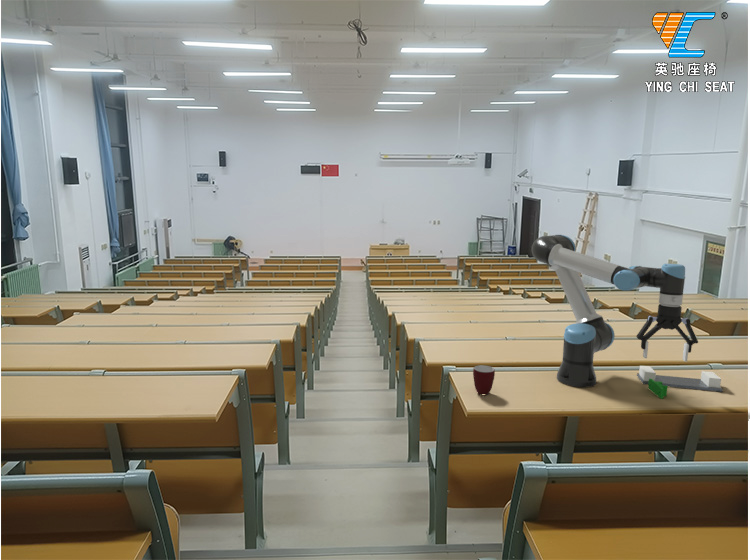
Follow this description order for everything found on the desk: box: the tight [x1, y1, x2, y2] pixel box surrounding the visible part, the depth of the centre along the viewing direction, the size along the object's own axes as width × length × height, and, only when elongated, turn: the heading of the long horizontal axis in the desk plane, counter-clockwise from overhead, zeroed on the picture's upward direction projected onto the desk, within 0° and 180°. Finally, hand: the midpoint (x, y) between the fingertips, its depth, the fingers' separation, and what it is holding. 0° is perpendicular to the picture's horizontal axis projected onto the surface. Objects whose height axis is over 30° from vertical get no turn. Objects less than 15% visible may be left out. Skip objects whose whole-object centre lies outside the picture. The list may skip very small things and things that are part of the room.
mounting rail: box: [636, 365, 723, 393], centre depth 193 cm, size 28×10×5 cm, turn 74°
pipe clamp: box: [647, 379, 669, 400], centre depth 183 cm, size 10×4×4 cm, turn 173°
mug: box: [472, 364, 496, 395], centre depth 183 cm, size 10×8×10 cm
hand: (664, 358), depth 181 cm, fingers open, 13 cm apart
